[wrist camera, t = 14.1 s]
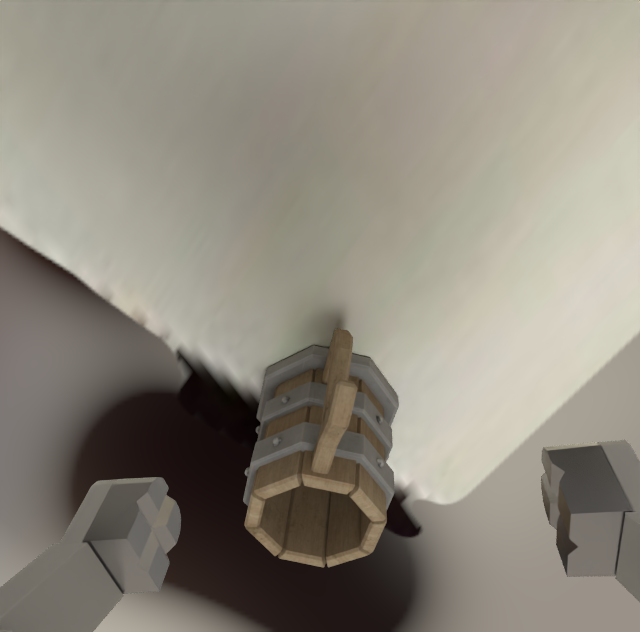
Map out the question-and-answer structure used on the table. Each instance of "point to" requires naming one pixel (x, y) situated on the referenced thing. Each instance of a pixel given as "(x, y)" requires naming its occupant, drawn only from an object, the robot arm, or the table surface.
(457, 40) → the table surface
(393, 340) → the table surface
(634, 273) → the table surface
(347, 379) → the tankard
